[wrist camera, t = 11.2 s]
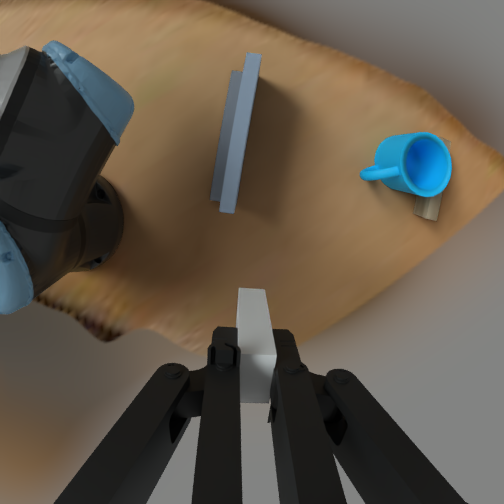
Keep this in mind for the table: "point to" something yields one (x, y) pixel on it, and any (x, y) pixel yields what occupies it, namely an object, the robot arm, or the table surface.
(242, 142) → the screen
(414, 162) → the mug
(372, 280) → the table surface
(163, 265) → the table surface
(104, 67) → the table surface
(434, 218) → the block
